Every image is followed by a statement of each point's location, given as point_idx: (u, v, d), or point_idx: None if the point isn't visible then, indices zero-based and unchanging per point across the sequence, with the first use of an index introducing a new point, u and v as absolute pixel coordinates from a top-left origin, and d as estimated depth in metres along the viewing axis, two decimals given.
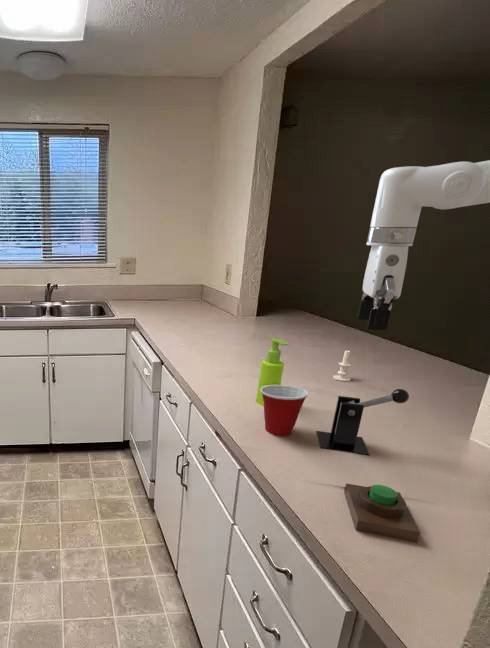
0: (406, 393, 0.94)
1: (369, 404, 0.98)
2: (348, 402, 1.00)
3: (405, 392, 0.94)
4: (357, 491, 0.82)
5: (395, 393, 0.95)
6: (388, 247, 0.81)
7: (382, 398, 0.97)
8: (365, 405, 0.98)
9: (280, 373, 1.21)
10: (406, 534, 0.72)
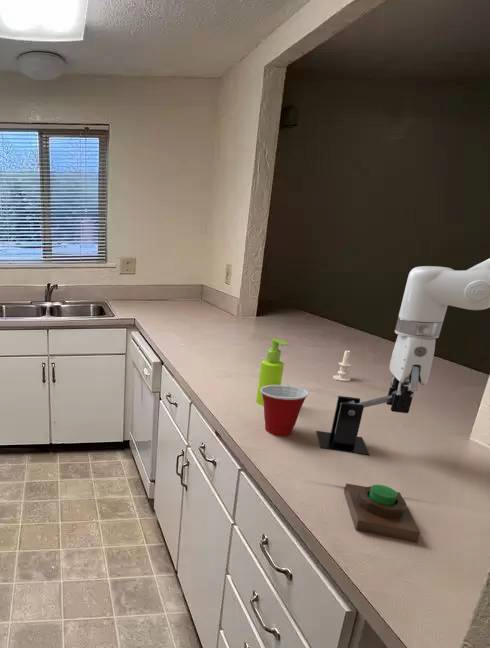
0: None
1: (369, 404, 0.98)
2: (348, 402, 1.00)
3: None
4: (357, 491, 0.82)
5: (395, 393, 0.95)
6: (416, 339, 0.87)
7: (382, 398, 0.97)
8: (365, 405, 0.98)
9: (280, 373, 1.21)
10: (406, 534, 0.72)
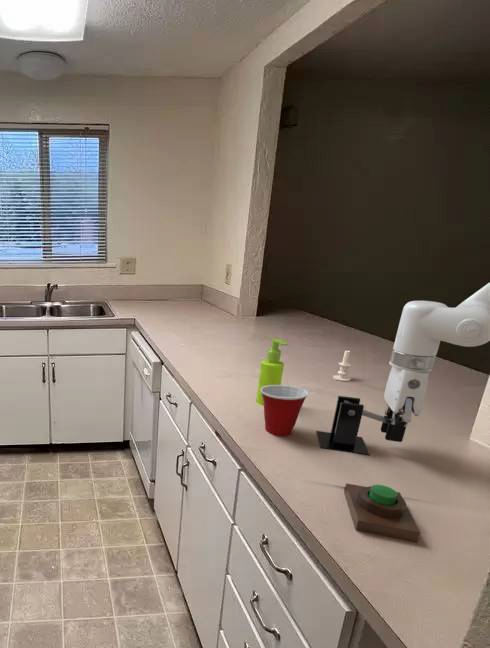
0: None
1: (368, 415, 0.98)
2: None
3: None
4: (357, 491, 0.82)
5: None
6: (410, 372, 0.89)
7: (381, 416, 0.98)
8: (364, 414, 0.99)
9: (280, 373, 1.21)
10: (406, 534, 0.72)
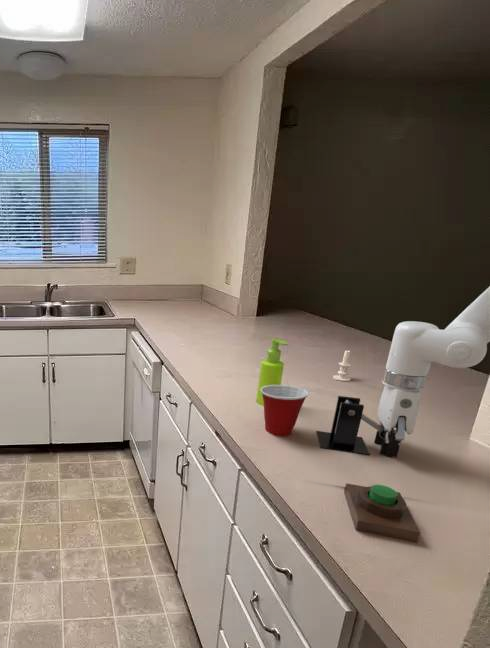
0: None
1: (364, 419, 0.99)
2: None
3: None
4: (357, 491, 0.82)
5: None
6: (402, 392, 0.91)
7: (376, 424, 0.99)
8: (361, 417, 0.99)
9: (280, 373, 1.21)
10: (406, 534, 0.72)
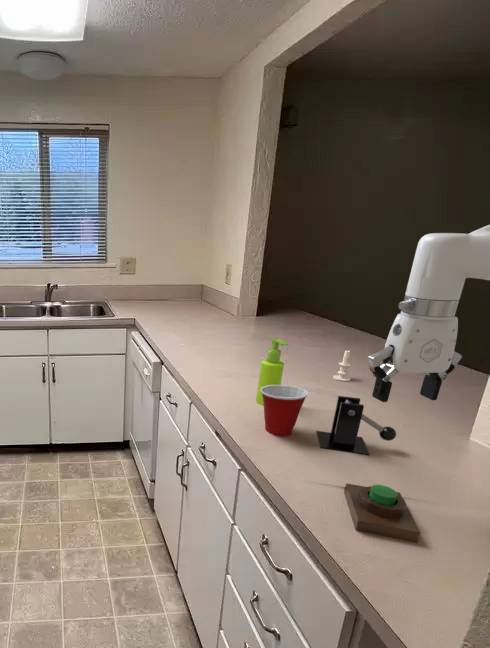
0: (395, 436, 0.98)
1: (364, 419, 0.99)
2: None
3: (395, 435, 0.98)
4: (357, 491, 0.82)
5: (389, 429, 0.98)
6: (399, 316, 0.76)
7: (376, 424, 0.99)
8: (361, 417, 0.99)
9: (280, 373, 1.21)
10: (406, 534, 0.72)
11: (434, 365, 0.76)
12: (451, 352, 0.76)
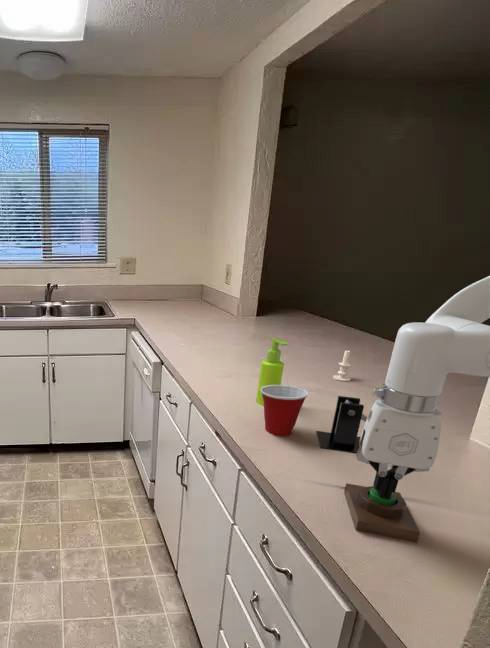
0: None
1: (364, 419, 0.99)
2: None
3: None
4: (357, 491, 0.82)
5: None
6: (375, 402, 0.74)
7: None
8: (361, 417, 0.99)
9: (280, 373, 1.21)
10: (406, 534, 0.72)
11: (408, 460, 0.71)
12: (432, 450, 0.70)
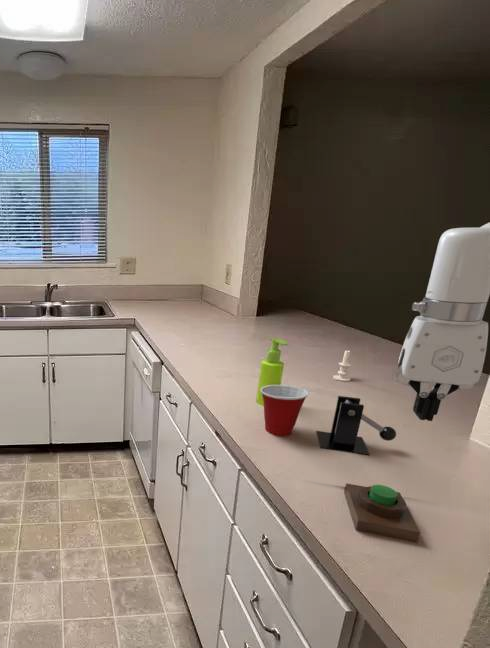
0: (395, 436, 0.98)
1: (364, 419, 0.99)
2: None
3: (395, 435, 0.98)
4: (357, 491, 0.82)
5: (389, 429, 0.98)
6: (415, 318, 0.71)
7: (376, 424, 0.99)
8: (361, 417, 0.99)
9: (280, 373, 1.21)
10: (406, 534, 0.72)
11: (453, 376, 0.68)
12: (478, 363, 0.67)
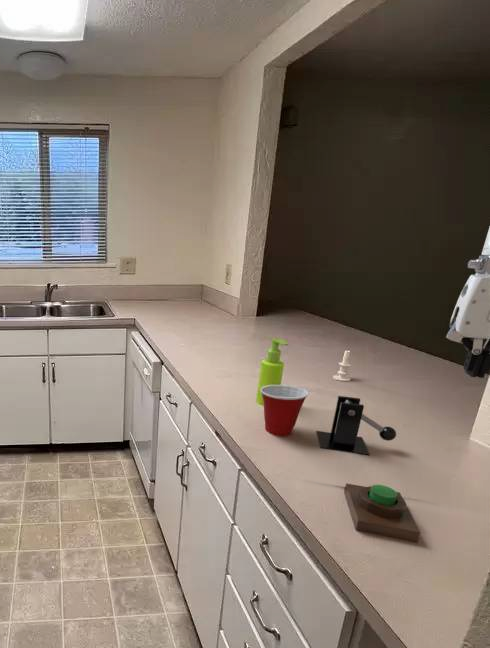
0: (395, 436, 0.98)
1: (364, 419, 0.99)
2: None
3: (395, 435, 0.98)
4: (357, 491, 0.82)
5: (389, 429, 0.98)
6: (470, 276, 0.73)
7: (376, 424, 0.99)
8: (361, 417, 0.99)
9: (280, 373, 1.21)
10: (406, 534, 0.72)
11: None
12: None
